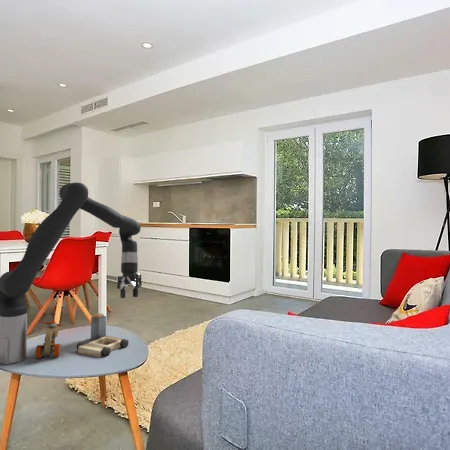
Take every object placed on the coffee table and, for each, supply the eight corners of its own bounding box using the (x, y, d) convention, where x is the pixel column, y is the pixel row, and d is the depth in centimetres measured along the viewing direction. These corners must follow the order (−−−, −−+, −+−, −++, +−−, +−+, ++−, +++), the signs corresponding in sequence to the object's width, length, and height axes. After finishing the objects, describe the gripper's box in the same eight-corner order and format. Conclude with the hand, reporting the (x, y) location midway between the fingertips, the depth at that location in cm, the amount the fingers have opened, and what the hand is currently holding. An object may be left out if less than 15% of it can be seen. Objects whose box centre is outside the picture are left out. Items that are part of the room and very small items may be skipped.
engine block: (98, 341, 157) (98, 316, 157) (90, 339, 158) (91, 315, 158) (105, 338, 161) (106, 314, 161) (97, 336, 163) (98, 312, 163)
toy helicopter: (34, 361, 132) (34, 324, 132) (44, 343, 152) (45, 311, 152) (58, 359, 135) (58, 323, 135) (65, 342, 154) (66, 310, 154)
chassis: (103, 358, 137) (103, 349, 137) (74, 352, 143) (74, 344, 143) (129, 345, 151) (129, 338, 151) (102, 340, 157) (103, 333, 157)
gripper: (113, 263, 168) (112, 298, 164) (133, 260, 160) (132, 296, 156) (125, 264, 174) (125, 298, 170) (145, 261, 166) (145, 296, 162)
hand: (129, 297), depth 163 cm, fingers open, 8 cm apart
